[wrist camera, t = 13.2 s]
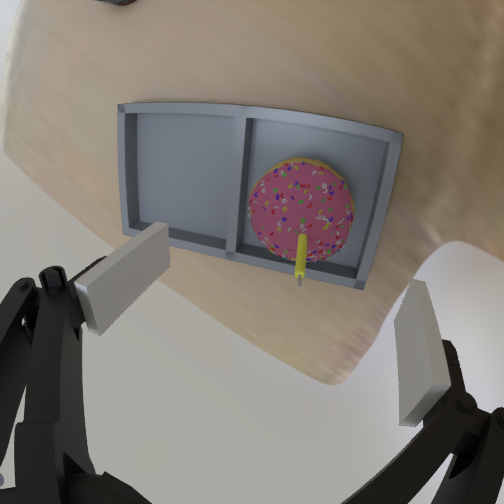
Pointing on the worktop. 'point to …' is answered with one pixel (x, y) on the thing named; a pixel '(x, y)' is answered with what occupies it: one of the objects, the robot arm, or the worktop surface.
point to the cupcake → (301, 211)
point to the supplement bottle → (116, 1)
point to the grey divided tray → (247, 177)
